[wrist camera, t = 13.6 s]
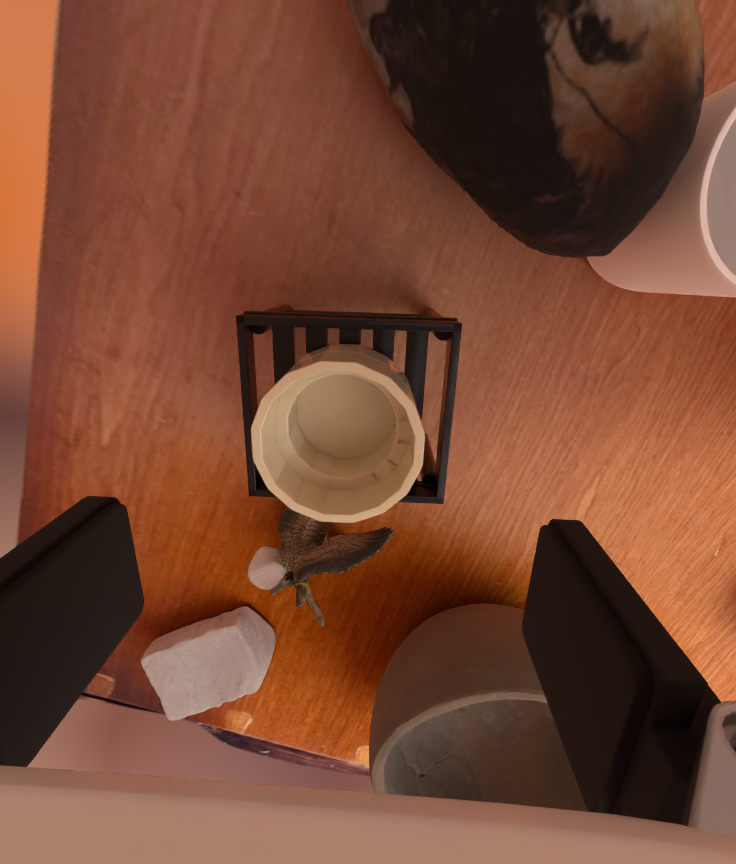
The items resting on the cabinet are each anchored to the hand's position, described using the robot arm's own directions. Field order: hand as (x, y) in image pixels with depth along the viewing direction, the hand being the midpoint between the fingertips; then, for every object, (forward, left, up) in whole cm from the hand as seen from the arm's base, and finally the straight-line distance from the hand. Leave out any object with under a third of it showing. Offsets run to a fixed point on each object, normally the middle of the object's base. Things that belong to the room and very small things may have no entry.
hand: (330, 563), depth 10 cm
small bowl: (+1, 0, -13) cm, 13 cm away
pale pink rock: (+11, +23, -20) cm, 32 cm away
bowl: (-10, +24, -20) cm, 32 cm away
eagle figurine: (+2, +11, -20) cm, 23 cm away
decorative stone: (-6, -15, -20) cm, 25 cm away
